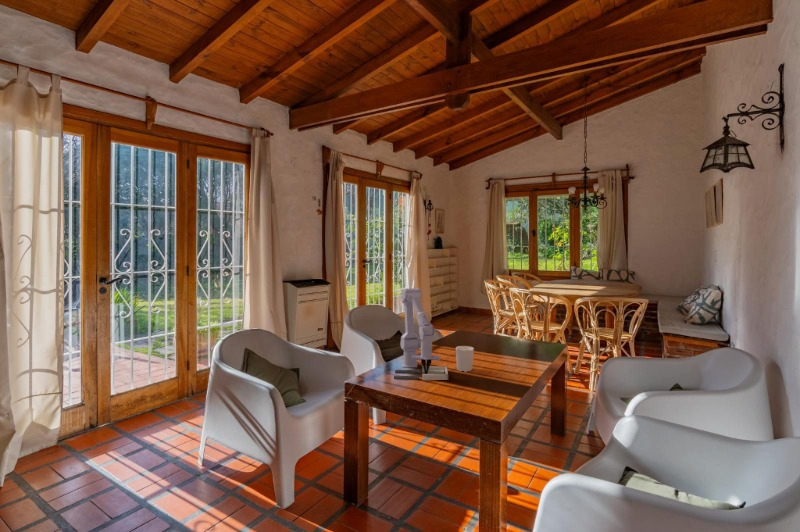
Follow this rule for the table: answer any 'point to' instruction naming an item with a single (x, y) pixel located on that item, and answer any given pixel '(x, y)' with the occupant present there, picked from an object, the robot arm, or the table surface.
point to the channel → (406, 372)
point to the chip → (439, 371)
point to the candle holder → (464, 358)
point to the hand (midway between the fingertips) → (426, 373)
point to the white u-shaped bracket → (435, 376)
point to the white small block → (431, 371)
